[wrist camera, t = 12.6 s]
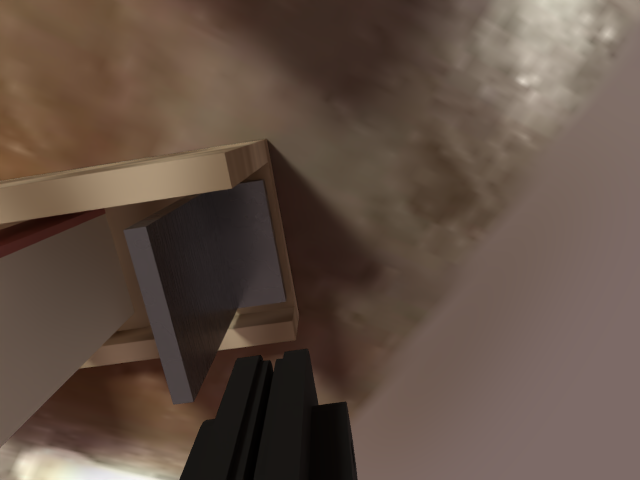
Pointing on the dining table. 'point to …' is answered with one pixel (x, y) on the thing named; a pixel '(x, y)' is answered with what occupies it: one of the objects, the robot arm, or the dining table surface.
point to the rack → (144, 200)
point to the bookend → (204, 275)
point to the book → (54, 306)
